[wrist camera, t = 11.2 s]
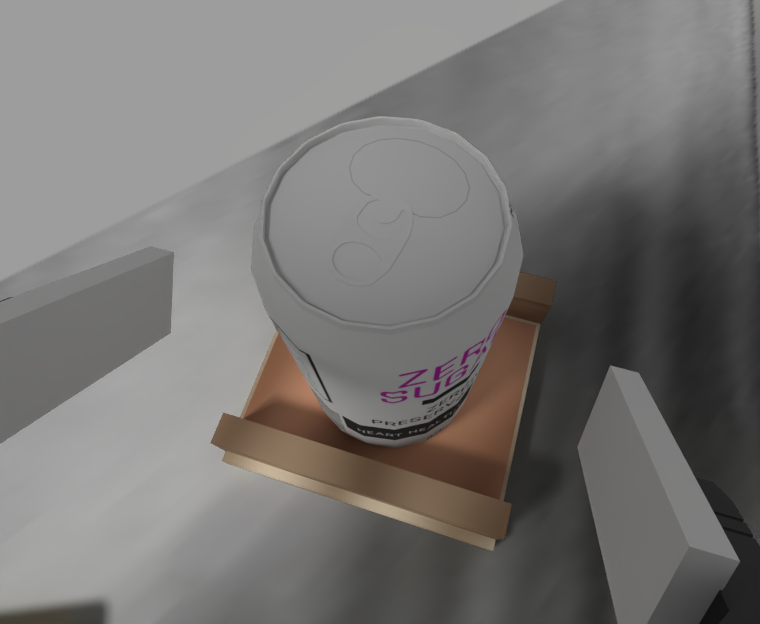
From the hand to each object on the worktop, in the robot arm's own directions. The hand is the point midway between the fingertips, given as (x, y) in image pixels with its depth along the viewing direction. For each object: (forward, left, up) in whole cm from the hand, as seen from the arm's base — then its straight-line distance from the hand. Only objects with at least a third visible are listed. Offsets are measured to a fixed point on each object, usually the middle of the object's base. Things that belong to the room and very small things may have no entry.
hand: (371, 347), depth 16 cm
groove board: (0, +3, -14) cm, 14 cm away
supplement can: (-1, +3, -13) cm, 13 cm away
